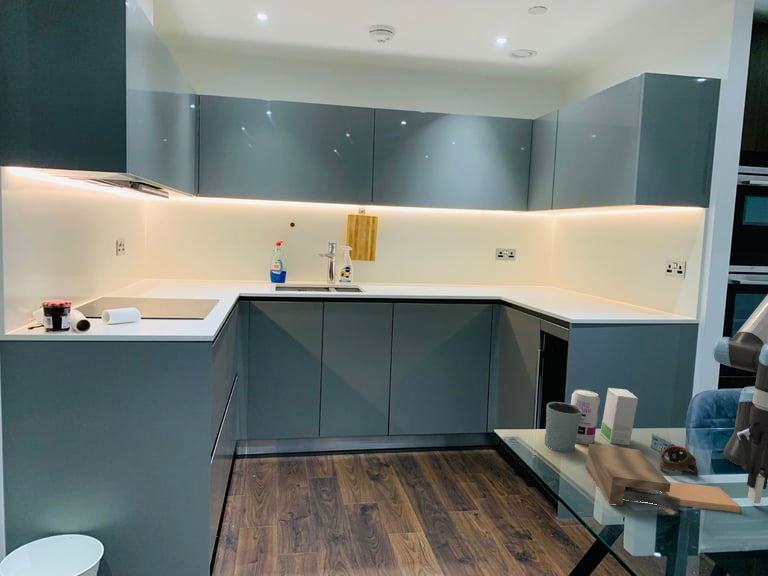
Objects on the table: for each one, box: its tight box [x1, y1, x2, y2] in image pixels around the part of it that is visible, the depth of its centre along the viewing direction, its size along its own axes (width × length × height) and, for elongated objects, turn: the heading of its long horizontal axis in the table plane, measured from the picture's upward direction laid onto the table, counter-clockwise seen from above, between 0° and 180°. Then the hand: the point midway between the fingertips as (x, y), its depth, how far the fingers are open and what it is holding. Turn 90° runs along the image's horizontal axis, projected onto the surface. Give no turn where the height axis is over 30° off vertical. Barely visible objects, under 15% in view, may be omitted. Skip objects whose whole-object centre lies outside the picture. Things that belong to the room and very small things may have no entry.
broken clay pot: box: [658, 443, 699, 477], centre depth 152 cm, size 12×10×8 cm
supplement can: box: [570, 389, 601, 445], centre depth 168 cm, size 8×8×15 cm
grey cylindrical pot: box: [544, 401, 582, 453], centre depth 161 cm, size 10×10×12 cm
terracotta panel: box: [660, 480, 742, 514], centre depth 136 cm, size 16×10×2 cm, turn 86°
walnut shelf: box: [585, 443, 681, 511], centre depth 137 cm, size 17×20×7 cm
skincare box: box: [600, 387, 639, 446], centre depth 171 cm, size 8×7×16 cm
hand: (753, 500), depth 135 cm, fingers closed
